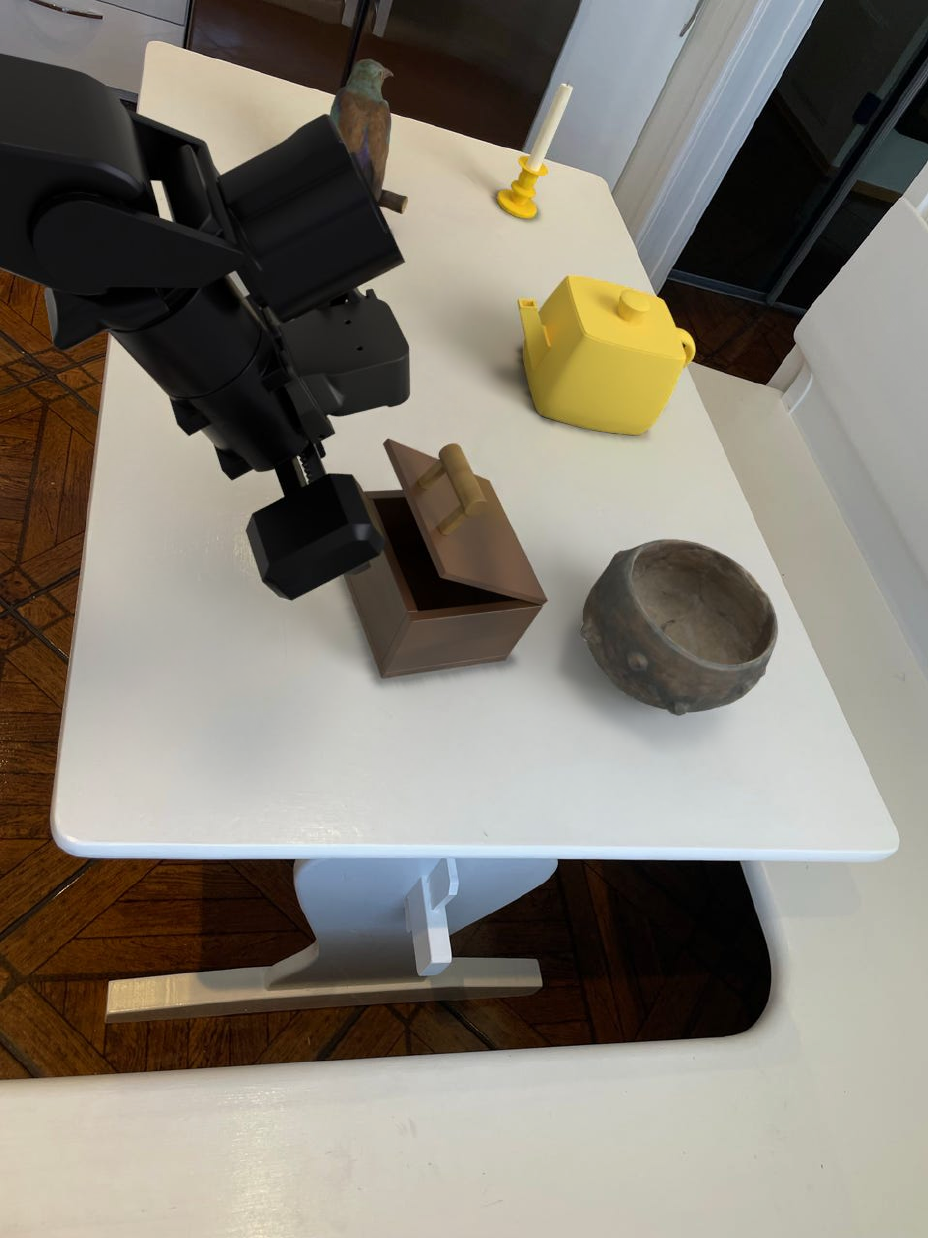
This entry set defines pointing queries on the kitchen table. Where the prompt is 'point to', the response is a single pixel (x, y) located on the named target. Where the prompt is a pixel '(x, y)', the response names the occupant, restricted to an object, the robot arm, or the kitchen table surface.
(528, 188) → the candle
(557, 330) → the teapot
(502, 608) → the chest
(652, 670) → the bowl
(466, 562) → the lid
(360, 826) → the kitchen table surface
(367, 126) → the bird figurine
